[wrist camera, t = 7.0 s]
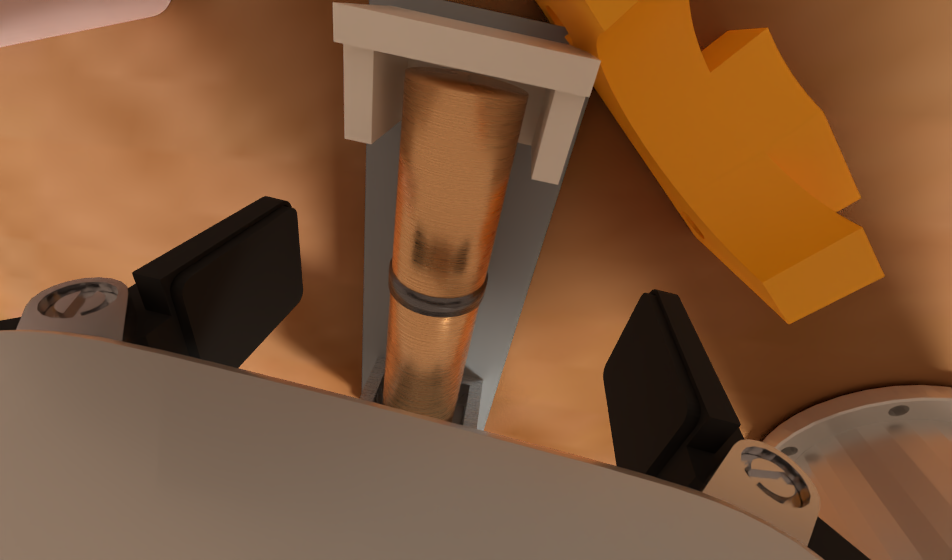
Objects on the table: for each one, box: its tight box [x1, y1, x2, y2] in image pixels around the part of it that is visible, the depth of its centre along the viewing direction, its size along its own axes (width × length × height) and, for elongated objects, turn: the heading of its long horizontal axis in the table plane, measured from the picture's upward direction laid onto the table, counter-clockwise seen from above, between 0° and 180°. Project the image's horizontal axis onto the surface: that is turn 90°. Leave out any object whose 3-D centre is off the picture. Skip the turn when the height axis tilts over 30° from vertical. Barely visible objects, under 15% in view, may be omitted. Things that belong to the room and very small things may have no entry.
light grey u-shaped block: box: [333, 2, 601, 185], centre depth 12 cm, size 6×3×5 cm, turn 80°
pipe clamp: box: [535, 0, 885, 324], centre depth 12 cm, size 12×4×6 cm, turn 42°
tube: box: [383, 67, 529, 423], centre depth 16 cm, size 4×16×4 cm, turn 170°
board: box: [362, 0, 589, 431], centre depth 20 cm, size 8×24×1 cm, turn 170°
